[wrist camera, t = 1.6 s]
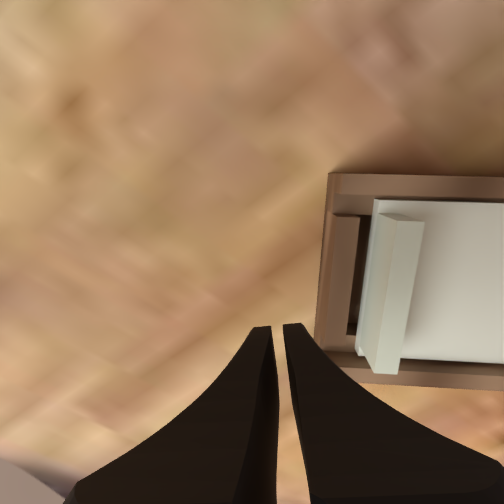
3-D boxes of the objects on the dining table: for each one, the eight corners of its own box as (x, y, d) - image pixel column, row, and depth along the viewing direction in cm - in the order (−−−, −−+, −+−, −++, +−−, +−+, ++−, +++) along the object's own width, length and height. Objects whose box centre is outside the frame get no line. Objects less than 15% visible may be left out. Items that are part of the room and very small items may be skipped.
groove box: (567, 178, 17) (648, 180, 14) (514, 355, 20) (568, 395, 17) (328, 173, 18) (343, 173, 14) (313, 344, 21) (322, 380, 17)
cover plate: (585, 204, 15) (666, 212, 12) (535, 357, 18) (592, 397, 15) (374, 198, 16) (400, 205, 13) (354, 348, 19) (371, 384, 15)
